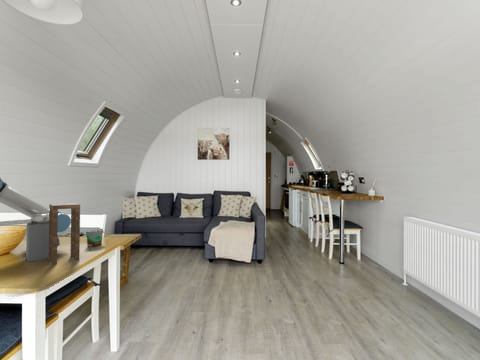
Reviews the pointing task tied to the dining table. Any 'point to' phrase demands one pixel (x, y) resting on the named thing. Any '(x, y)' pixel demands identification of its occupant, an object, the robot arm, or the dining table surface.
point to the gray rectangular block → (37, 241)
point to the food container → (94, 238)
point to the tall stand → (54, 228)
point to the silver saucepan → (28, 220)
